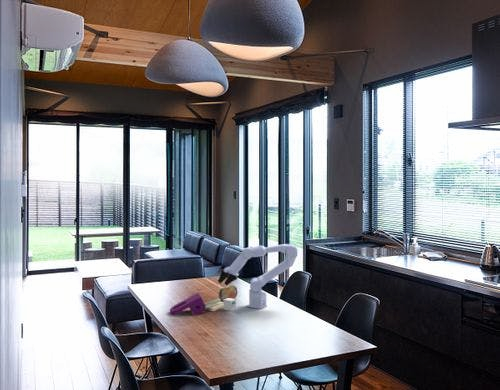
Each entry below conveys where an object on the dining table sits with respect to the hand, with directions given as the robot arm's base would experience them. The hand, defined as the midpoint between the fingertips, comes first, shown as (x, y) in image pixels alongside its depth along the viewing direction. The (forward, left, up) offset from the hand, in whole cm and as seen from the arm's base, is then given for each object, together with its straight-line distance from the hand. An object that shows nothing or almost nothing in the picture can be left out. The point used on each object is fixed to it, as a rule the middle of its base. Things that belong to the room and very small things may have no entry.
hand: (222, 283), depth 266 cm
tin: (+5, -12, -13) cm, 19 cm away
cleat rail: (0, +5, -13) cm, 14 cm away
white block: (-7, +3, -13) cm, 15 cm away
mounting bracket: (+8, +22, -14) cm, 27 cm away
